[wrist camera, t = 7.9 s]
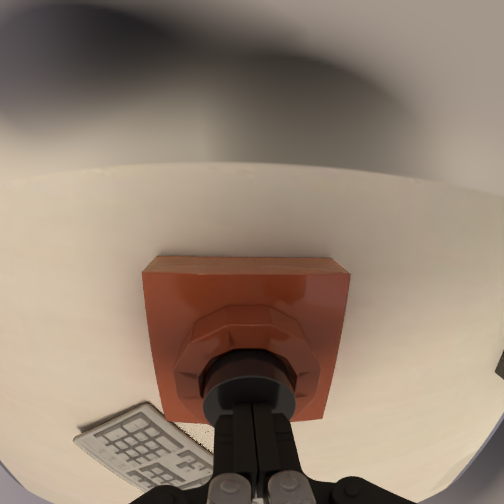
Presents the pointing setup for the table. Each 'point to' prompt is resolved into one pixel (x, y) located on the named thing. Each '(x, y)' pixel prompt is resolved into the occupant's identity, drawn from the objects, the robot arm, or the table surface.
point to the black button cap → (247, 384)
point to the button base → (243, 323)
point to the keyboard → (149, 451)
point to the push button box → (501, 367)
